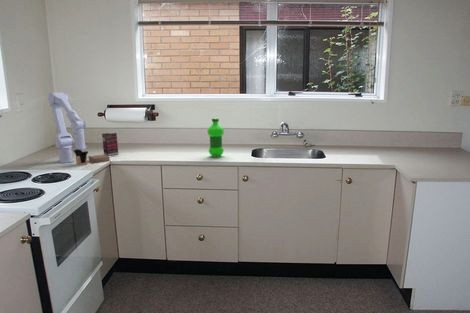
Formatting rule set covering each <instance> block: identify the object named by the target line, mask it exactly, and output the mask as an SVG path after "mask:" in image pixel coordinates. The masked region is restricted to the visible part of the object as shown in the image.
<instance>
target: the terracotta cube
mask: <svg viewBox="0 0 470 313" xmlns="http://www.w3.org/2000/svg"><path fill="white" fill-rule="evenodd" d="M75 162H76V163H75V164H76V165H77V166H78V167H79V166H80V167H81V166H87V165H88V159H87V156H86V162H85V163H81V160H80V156H77V157H76V156H75Z"/></svg>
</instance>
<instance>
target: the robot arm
mask: <svg viewBox="0 0 470 313" xmlns="http://www.w3.org/2000/svg"><path fill="white" fill-rule="evenodd" d="M47 100H48V103H49V106H50V107H51V109H52V114H53V118H54V122H55V126H56V130H57V134H56V135H55V137H54V145H55V147H56V148H57V150H58V159H57V161H58V162H59V164H65V163H67V164H68V163H73V162H75V160H73V153H74V154H75V158H76V157H77V156H80V160H81V163H85V162H86V157H87V155H88V153H89V151H86V149H88V146H87V145H86V141H85V128H86V122H85V120H84V119H82V118H80V117H79V114H78V113H77V111H75V110H73V108H72V107H71V104H70V103H69V96H68V94H67V93H66V91H57V92H56V91H55V92H54V91H53V92H52V91H51V92H49V93H48V95H47ZM62 108H63V110H64V111H65V112H66V117H67V118H68V120H69V123H70V128H71V130H72V133H73V136H72V134H71V133H70V132H68V131H67V126H66V124H65V119H64V116H63V111H62ZM73 146H74V150H73V153H72V148H73Z"/></svg>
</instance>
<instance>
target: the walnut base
mask: <svg viewBox="0 0 470 313" xmlns="http://www.w3.org/2000/svg"><path fill="white" fill-rule="evenodd" d="M88 161H89V162H90V163H93V164H97V163H105V162H106V163H107V162H110V157H109V156H107V155H104V153H103V154H96V155H89V156H88Z"/></svg>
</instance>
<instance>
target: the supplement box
mask: <svg viewBox="0 0 470 313" xmlns="http://www.w3.org/2000/svg"><path fill="white" fill-rule="evenodd" d="M117 135H118V134H117V132H116V131H115V132H114V131H113V132H105V133H102V134H101V136H102V146H103V147H102V150H103V154H104V155H107V156H112V157H114V156H113V155H118V156H119V146H118V136H117Z"/></svg>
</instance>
